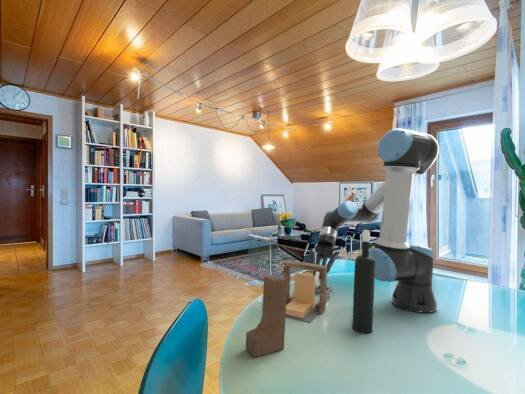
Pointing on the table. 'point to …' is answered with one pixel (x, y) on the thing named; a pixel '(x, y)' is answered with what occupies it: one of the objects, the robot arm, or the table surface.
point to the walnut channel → (324, 296)
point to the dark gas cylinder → (363, 288)
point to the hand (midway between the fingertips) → (315, 285)
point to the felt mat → (308, 317)
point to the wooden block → (270, 319)
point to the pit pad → (317, 289)
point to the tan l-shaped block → (302, 296)
